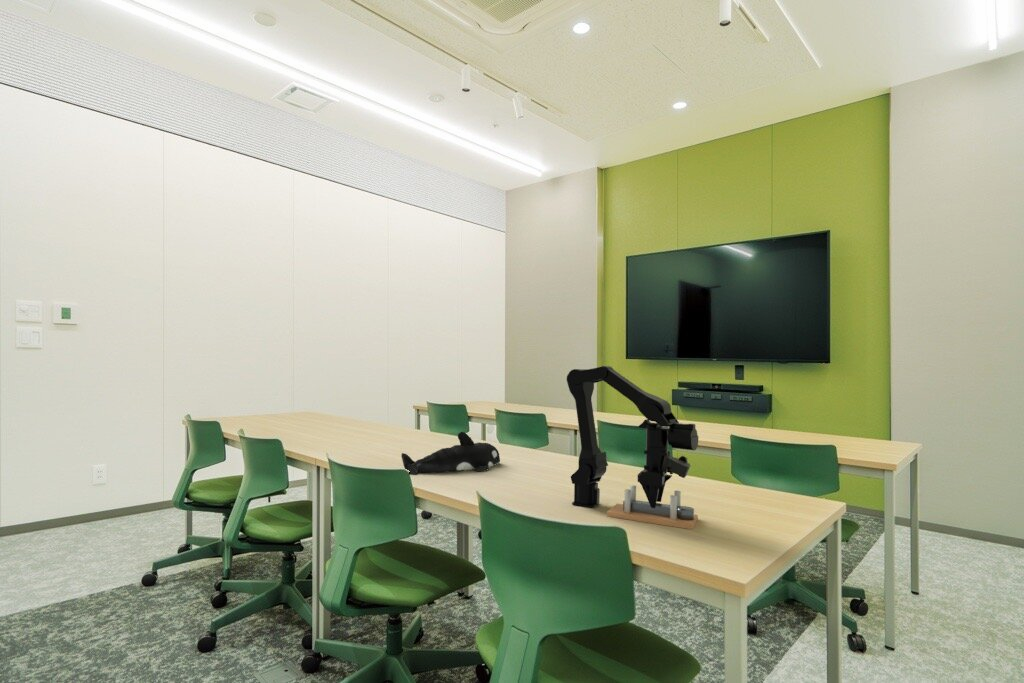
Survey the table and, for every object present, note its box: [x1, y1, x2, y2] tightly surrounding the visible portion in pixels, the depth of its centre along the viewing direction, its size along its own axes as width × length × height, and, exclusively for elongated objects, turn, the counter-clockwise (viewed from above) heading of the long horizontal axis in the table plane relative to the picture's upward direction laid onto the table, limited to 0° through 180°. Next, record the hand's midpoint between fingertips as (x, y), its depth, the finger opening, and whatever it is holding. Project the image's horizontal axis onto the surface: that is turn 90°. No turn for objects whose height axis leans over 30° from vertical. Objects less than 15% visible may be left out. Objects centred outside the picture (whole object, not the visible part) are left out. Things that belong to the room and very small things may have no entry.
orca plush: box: [401, 431, 501, 476], centre depth 204 cm, size 21×41×14 cm, turn 113°
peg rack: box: [606, 484, 699, 530], centre depth 142 cm, size 22×10×7 cm, turn 64°
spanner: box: [622, 499, 695, 520], centre depth 141 cm, size 18×4×2 cm, turn 64°
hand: (656, 504), depth 142 cm, fingers open, 7 cm apart
